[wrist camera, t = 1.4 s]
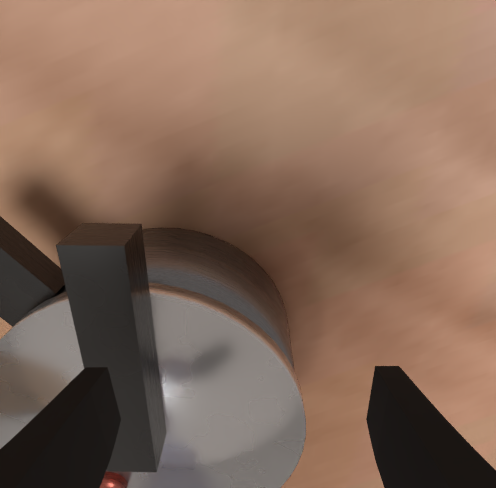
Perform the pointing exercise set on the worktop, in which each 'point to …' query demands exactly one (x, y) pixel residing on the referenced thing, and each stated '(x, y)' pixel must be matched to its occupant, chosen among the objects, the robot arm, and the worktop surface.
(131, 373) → the cooker lid
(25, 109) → the worktop surface
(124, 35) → the worktop surface
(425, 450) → the robot arm
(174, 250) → the cooker pot
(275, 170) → the worktop surface
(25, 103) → the worktop surface
